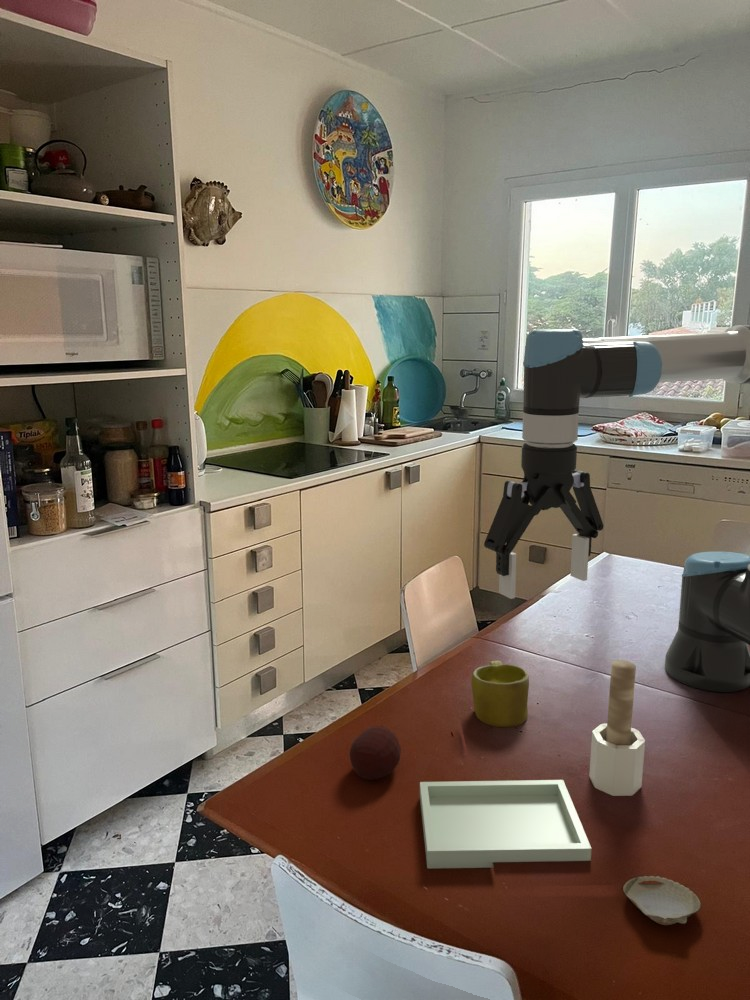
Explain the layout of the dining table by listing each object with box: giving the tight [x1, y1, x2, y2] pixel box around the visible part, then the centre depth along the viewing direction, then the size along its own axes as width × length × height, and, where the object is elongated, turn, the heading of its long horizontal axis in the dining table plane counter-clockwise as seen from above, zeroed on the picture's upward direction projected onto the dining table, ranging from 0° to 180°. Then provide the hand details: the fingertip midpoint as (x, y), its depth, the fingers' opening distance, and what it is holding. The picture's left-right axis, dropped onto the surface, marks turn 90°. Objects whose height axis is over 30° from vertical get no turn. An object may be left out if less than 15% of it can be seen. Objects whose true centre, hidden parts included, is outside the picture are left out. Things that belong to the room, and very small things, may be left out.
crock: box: [588, 723, 646, 797], centre depth 109 cm, size 7×7×8 cm
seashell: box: [622, 875, 702, 926], centre depth 87 cm, size 8×3×8 cm
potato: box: [349, 725, 402, 781], centre depth 113 cm, size 7×10×6 cm
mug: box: [471, 660, 530, 728], centre depth 128 cm, size 12×10×10 cm
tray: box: [419, 779, 593, 870], centre depth 100 cm, size 20×14×2 cm
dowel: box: [606, 659, 637, 746], centre depth 107 cm, size 3×3×18 cm
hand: (543, 586), depth 112 cm, fingers open, 13 cm apart
